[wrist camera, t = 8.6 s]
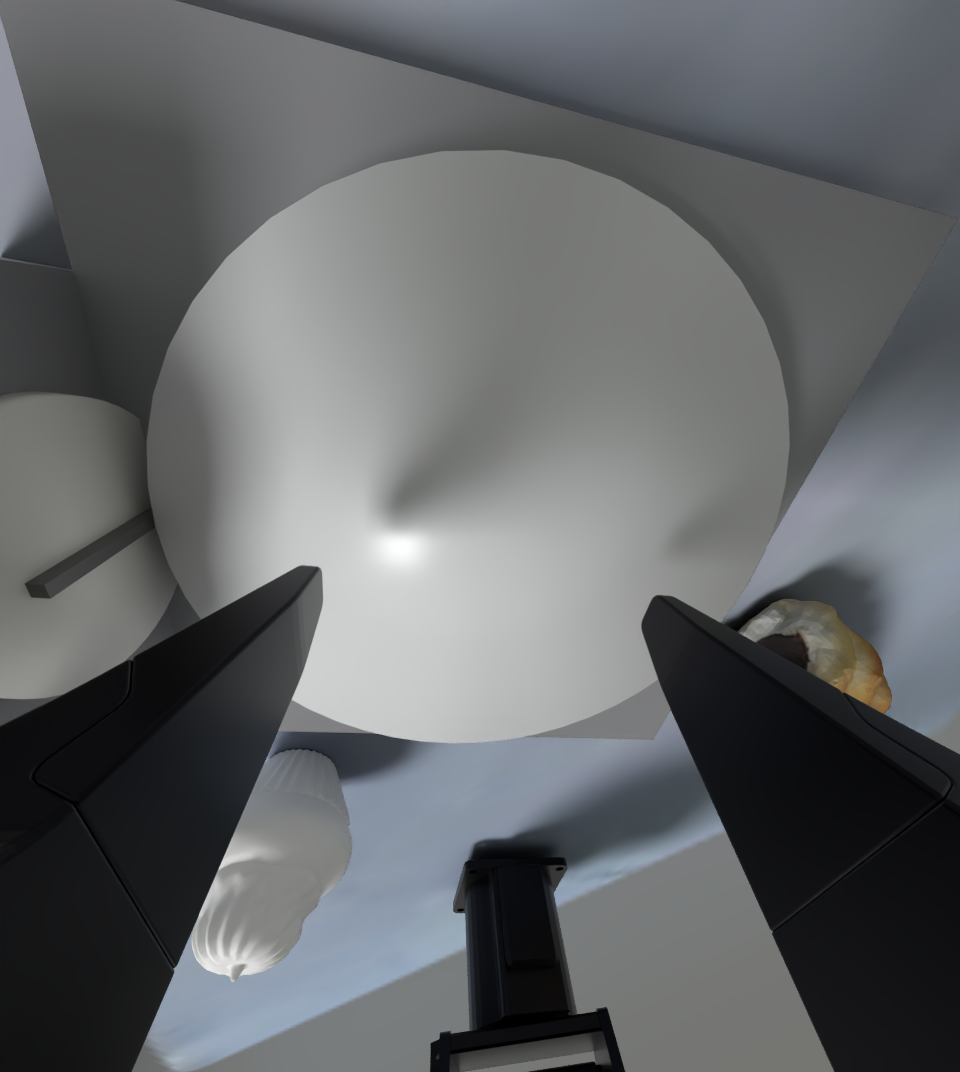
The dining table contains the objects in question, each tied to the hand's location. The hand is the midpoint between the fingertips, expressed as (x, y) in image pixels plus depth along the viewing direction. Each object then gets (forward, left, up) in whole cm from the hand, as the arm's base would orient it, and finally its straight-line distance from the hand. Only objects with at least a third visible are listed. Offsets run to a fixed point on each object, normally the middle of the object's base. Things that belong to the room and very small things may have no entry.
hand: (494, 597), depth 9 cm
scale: (0, 0, -5) cm, 5 cm away
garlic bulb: (-15, +7, -5) cm, 17 cm away
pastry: (-9, -15, -6) cm, 18 cm away
